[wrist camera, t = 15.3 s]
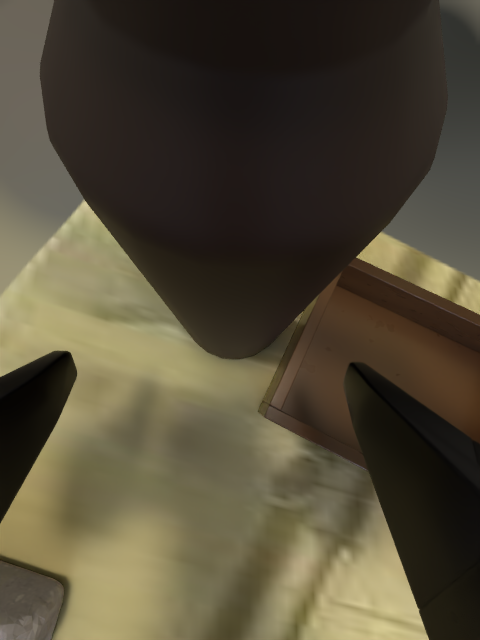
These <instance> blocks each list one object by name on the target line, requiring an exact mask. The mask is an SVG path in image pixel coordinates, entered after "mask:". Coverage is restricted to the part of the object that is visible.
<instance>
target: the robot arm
mask: <svg viewBox="0 0 480 640" xmlns="http://www.w3.org/2000/svg"><path fill="white" fill-rule="evenodd" d="M76 377H77V369H76V366H75V363H74V360H73V358H72V355H71V353H70V352H68V351H53V352H51V353H49V354H47V355H45V356H43V357H41V358H39V359H37V360H35V361H33V362H31V363H28V364H26V365H24V366H22V367H20V368H18V369H16V370H14V371H12V372H10V373H8V374H6V375H4V376H2V377H0V523H1V521H2V520H3V518H4V516H5V514H6V512H7V511H8V509H9V507H10V505H11V504H12V502H13V500H14V498H15V496H16V495H17V493H18V491H19V489H20V488H21V486H22V484H23V482H24V480H25V479H26V477H27V475H28V473H29V472H30V470H31V468H32V466H33V464H34V463H35V461H36V459H37V457H38V455H39V454H40V452H41V450H42V448H43V447H44V445H45V443H46V441H47V439H48V438H49V436H50V434H51V432H52V431H53V429H54V427H55V425H56V423H57V421H58V419H59V417H60V415H61V413H62V410H63V408H64V406H65V403H66V401H67V399H68V396H69V394H70V392H71V389H72V387H73V385H74V382H75V380H76ZM343 388H344V392H345V396H346V400H347V405H348V409H349V413H350V417H351V421H352V425H353V429H354V432H355V435H356V438H357V441H358V444H359V446H360V449H361V452H362V455H363V457H364V460H365V463H366V466H367V468H368V471H369V474H370V477H371V480H372V482H373V485H374V488H375V491H376V493H377V496H378V499H379V502H380V504H381V507H382V510H383V513H384V516H385V518H386V521H387V524H388V527H389V529H390V532H391V535H392V538H393V540H394V543H395V546H396V549H397V552H398V554H399V557H400V560H401V563H402V565H403V568H404V571H405V574H406V576H407V579H408V582H409V585H410V588H411V590H412V593H413V596H414V599H415V601H416V604H417V607H418V609H420V610H419V613H420V616H421V619H422V621H423V624H424V627H425V630H426V632H427V635H428V638H429V640H480V444H479V443H478V442H477V441H475V440H472V438H471V437H469V436H468V435H466V434H465V433H464V432H462V431H461V430H459V429H458V428H456V427H455V426H454V425H452V424H451V423H449V422H448V421H446V420H445V419H444V418H442V417H441V416H439V415H438V414H437V413H435V412H434V411H432V410H431V409H429V408H428V407H427V406H425V405H424V404H422V403H421V402H419V401H418V400H417V399H415V398H414V397H412V396H411V395H409V394H408V393H407V392H405V391H404V390H402V389H401V388H399V387H398V386H397V385H395V384H394V383H392V382H391V381H390V380H388V379H387V378H385V377H384V376H382V375H381V374H380V373H378V372H377V371H375V370H374V369H372V368H371V367H370V366H368V365H367V364H365V363H363V362H350V363H349V365H348V368H347V371H346V374H345V377H344V380H343Z"/></svg>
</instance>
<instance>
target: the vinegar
mask: <svg viewBox="0 0 480 640" xmlns="http://www.w3.org/2000/svg"><path fill="white" fill-rule="evenodd" d="M40 64H41V65H40V80H41V87H42V96H43V103H44V111H45V118H46V125H47V131H48V134H49V138H50V141H51V143H52V145H53V147H54V149H55V150H56V152H57V154H58V156H59V157H60V159H61V161H62V162H63V164H64V166H65V167H66V169H67V171H68V172H69V174H70V176H71V177H72V179H73V181H74V182H75V184H76V186H77V187H78V189H79V191H80V192H81V194H82V196H83V198H84V199H85V201H86V202H87V204H88V205H89V206H90V207H91V209H92V210H93V211H94V213H95V214H96V215H97V216H98V218H99V219H100V220H101V222H102V223H103V224H104V225H105V227H106V228H107V229H108V231H109V232H110V233H111V234H112V236H113V237H114V238H115V240H116V241H117V242H118V243H119V245H120V246H121V247H122V248H123V250H124V251H125V252H126V254H127V255H128V256H129V257H130V259H131V260H132V261H133V263H134V264H135V265H136V266H137V268H138V269H139V270H140V272H141V273H142V274H143V275H144V277H145V278H146V279H147V281H148V282H149V283H150V284H151V286H152V287H153V288H154V290H155V291H156V292H157V293H158V295H159V296H160V297H161V299H162V300H163V301H164V302H165V304H166V305H167V306H168V307H169V309H170V310H171V311H172V313H173V314H174V315H175V316H176V318H177V319H178V320H179V322H180V323H181V324H182V325H183V327H184V328H185V329H186V331H187V332H188V333H189V334H190V336H191V337H192V338H193V340H194V341H195V342H196V343H197V344H198V345H200V346H201V347H202V348H203V349H204V350H206V351H207V352H208V353H211V354H213V355H216V356H219V357H221V358H228V359H241V358H245V357H249V356H253V355H255V354H257V353H259V352H260V351H262V350H263V349H265V348H266V347H268V346H269V345H270V344H271V343H272V342H273V341H274V340H275V339H276V338H277V337H278V336H279V335H280V334H281V333H282V332H283V331H284V330H285V329H286V328H287V327H288V326H289V325H290V323H291V322H292V321H293V320H294V319H295V318H296V317H297V316H298V315H299V314H300V313H301V312H302V311H303V310H304V309H305V308H306V307H307V306H308V305H309V304H310V303H311V302H312V301H313V300H314V299H315V298H316V297H317V296H318V295H319V294H320V293H321V292H322V291H323V290H324V289H325V288H326V287H327V286H328V285H329V284H330V283H331V282H332V281H333V280H334V279H335V278H336V277H337V276H338V275H339V274H340V273H341V272H342V271H343V270H344V269H345V268H346V267H347V266H348V265H349V264H350V263H351V262H352V261H353V260H354V259H355V258H356V257H357V255H358V254H359V253H360V252H361V251H362V250H363V249H364V248H365V247H366V246H367V245H368V244H369V243H370V242H371V241H372V240H373V239H374V238H375V237H376V236H377V235H378V234H379V233H380V232H381V231H382V230H383V229H384V228H385V227H386V226H387V225H388V224H389V223H390V222H391V220H392V219H393V218H394V217H395V215H396V214H397V213H398V211H399V210H400V209H401V207H402V206H403V205H404V203H405V202H406V201H407V200H408V198H409V197H410V196H411V194H412V193H413V192H414V190H415V189H416V188H417V186H418V185H419V184H420V182H421V181H422V180H423V179H424V177H425V176H426V174H427V173H428V172H429V170H430V168H431V165H432V163H433V160H434V158H435V154H436V149H437V146H438V142H439V138H440V134H441V130H442V126H443V123H444V118H445V115H446V111H447V100H448V94H447V82H446V72H445V60H444V49H443V39H442V28H441V16H440V6H439V0H54V5H53V9H52V13H51V18H50V23H49V27H48V31H47V36H46V40H45V45H44V50H43V54H42V58H41V63H40Z"/></svg>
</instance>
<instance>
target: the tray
mask: <svg viewBox="0 0 480 640" xmlns="http://www.w3.org/2000/svg"><path fill="white" fill-rule="evenodd" d="M350 362H363V363H365V364H367V365H368V366H370V367H371V368H372V369H374V370H375V371H377V372H378V373H380V374H381V375H382V376H384V377H385V378H387V379H388V380H390V381H391V382H392V383H394V384H395V385H397V386H398V387H399V388H401V389H402V390H404V391H405V392H407V393H408V394H409V395H411V396H412V397H414V398H415V399H417V400H418V401H419V402H421V403H422V404H424V405H425V406H427V407H428V408H429V409H431V410H432V411H434V412H435V413H437V414H438V415H439V416H441V417H442V418H444V419H445V420H446V421H448V422H449V423H451V424H452V425H454V426H455V427H456V428H458V429H459V430H461V431H462V432H464V433H465V434H466V435H468V436H469V437H471V438H472V440H475V441H477V442H478V443H479V444H480V315H479V314H477V313H475V312H473V311H470V310H468V309H466V308H464V307H462V306H460V305H457V304H455V303H453V302H451V301H449V300H447V299H444V298H442V297H440V296H438V295H436V294H434V293H431V292H429V291H427V290H425V289H423V288H421V287H419V286H416V285H414V284H412V283H410V282H408V281H406V280H403V279H401V278H399V277H397V276H395V275H393V274H390V273H388V272H386V271H384V270H382V269H380V268H378V267H375V266H373V265H371V264H369V263H367V262H365V261H362V260H360V259H358V258H355V259H354V260H353V261H352V262H351V263H350V264H349V265H348V266H347V267H346V268H345V269H344V270H343V271H342V272H341V273H340V274H339V275H338V276H337V277H336V278H335V279H334V280H333V281H332V282H331V283H330V284H329V285H328V286H327V287H326V288H325V289H324V290H323V291H322V292H321V293H320V294H319V295H318V296H317V297H316V298H315V299H314V300H313V301H312V302H311V303H310V304H309V305H308V306H307V307H306V308H305V310H304V312H303V314H302V317H301V319H300V321H299V323H298V325H297V327H296V330H295V332H294V334H293V336H292V338H291V340H290V343H289V345H288V347H287V349H286V351H285V353H284V356H283V358H282V360H281V362H280V364H279V367H278V369H277V371H276V373H275V375H274V377H273V380H272V382H271V384H270V386H269V388H268V390H267V393H266V395H265V397H264V399H263V401H262V403H261V406H260V408H259V410H258V412H259V413H260V414H261V415H262V416H264V417H265V418H267V419H269V420H270V421H272V422H274V423H276V424H278V425H280V426H282V427H284V428H286V429H288V430H290V431H292V432H293V433H295V434H297V435H299V436H301V437H303V438H305V439H307V440H309V441H311V442H313V443H315V444H316V445H318V446H320V447H322V448H324V449H326V450H328V451H330V452H332V453H334V454H336V455H338V456H339V457H341V458H343V459H345V460H347V461H349V462H351V463H353V464H355V465H357V466H359V467H361V468H362V469H364V470H366V471H368V468H367V466H366V463H365V460H364V457H363V455H362V452H361V449H360V446H359V444H358V441H357V438H356V435H355V432H354V429H353V425H352V421H351V417H350V413H349V409H348V405H347V400H346V396H345V392H344V388H343V380H344V377H345V374H346V371H347V368H348V365H349V363H350ZM368 472H369V471H368Z"/></svg>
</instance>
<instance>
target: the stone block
mask: <svg viewBox="0 0 480 640" xmlns="http://www.w3.org/2000/svg"><path fill="white" fill-rule="evenodd" d="M63 594H64V588H63V586H62V584H61V583H60V582H58V581H57V580H55V579H53V578H50V577H47V576H44V575H41V574H38V573H35V572H33V571H30V570H27V569H24V568H21V567H18V566H15V565H12V564H9V563H6V562H4V561H1V560H0V640H51V638H52V634H53V630H54V628H55V625H56V622H57V618H58V614H59V610H60V608H61V606H62V601H63Z"/></svg>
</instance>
